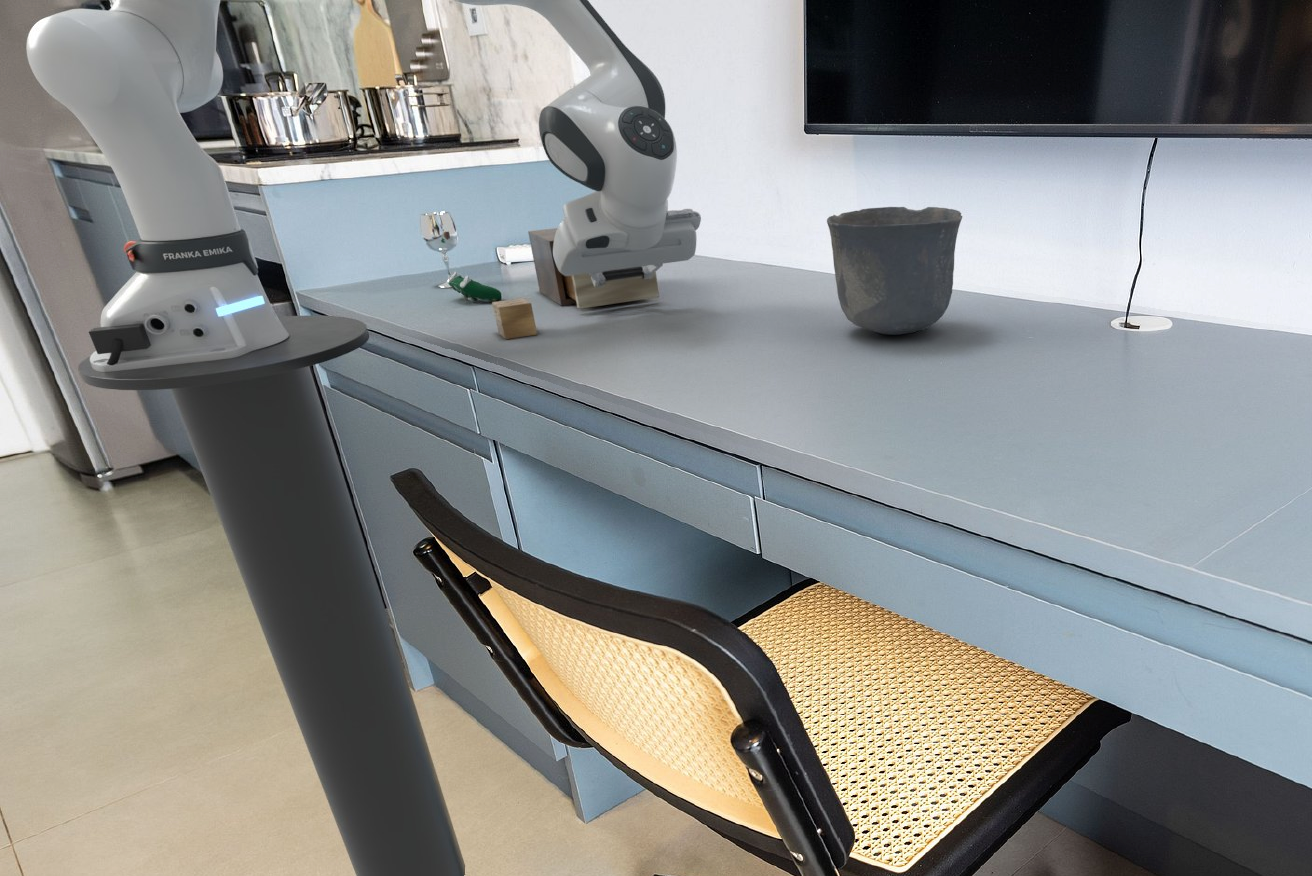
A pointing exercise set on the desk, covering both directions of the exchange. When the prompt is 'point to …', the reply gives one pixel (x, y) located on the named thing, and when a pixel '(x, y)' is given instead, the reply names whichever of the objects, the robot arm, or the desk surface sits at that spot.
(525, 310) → the block
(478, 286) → the green elongated toy
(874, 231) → the cup
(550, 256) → the cabinet
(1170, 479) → the desk surface
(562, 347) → the desk surface
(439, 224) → the wineglass
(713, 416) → the desk surface
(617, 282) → the drawer
